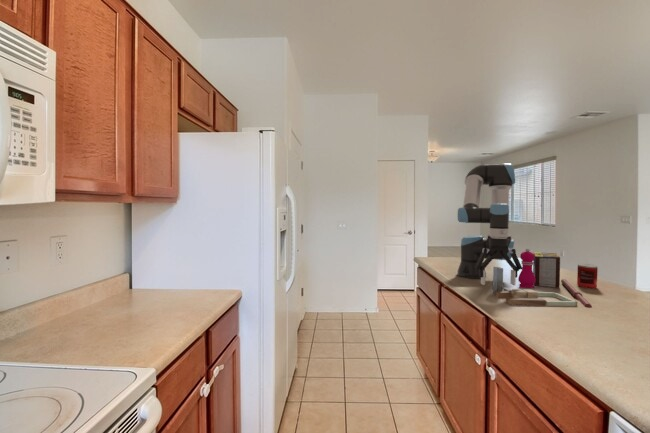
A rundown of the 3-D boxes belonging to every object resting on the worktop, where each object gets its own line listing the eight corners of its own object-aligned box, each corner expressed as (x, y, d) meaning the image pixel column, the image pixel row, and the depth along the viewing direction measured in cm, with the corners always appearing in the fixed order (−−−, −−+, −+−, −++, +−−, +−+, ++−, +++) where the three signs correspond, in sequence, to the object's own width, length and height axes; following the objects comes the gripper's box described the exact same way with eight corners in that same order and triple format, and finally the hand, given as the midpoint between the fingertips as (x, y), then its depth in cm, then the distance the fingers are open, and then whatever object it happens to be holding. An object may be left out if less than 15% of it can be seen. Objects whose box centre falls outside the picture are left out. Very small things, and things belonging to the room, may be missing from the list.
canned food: (589, 284, 162) (589, 263, 162) (601, 289, 154) (601, 266, 154) (573, 284, 163) (573, 263, 163) (584, 288, 155) (585, 266, 155)
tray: (527, 298, 140) (527, 292, 140) (554, 298, 139) (554, 292, 139) (546, 308, 126) (547, 301, 126) (577, 308, 126) (577, 302, 126)
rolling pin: (593, 311, 124) (593, 303, 124) (583, 309, 125) (583, 302, 125) (567, 284, 164) (567, 278, 164) (559, 283, 165) (560, 277, 165)
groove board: (494, 297, 141) (494, 290, 141) (526, 298, 140) (526, 290, 140) (510, 308, 127) (510, 300, 127) (546, 308, 126) (546, 300, 126)
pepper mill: (538, 290, 152) (539, 249, 151) (523, 290, 152) (524, 249, 151) (529, 286, 159) (530, 247, 158) (515, 286, 159) (515, 247, 158)
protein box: (555, 281, 169) (556, 253, 168) (559, 288, 155) (560, 257, 155) (532, 279, 174) (533, 251, 173) (534, 285, 161) (535, 255, 160)
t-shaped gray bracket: (491, 293, 147) (492, 266, 146) (506, 294, 146) (507, 266, 146) (497, 297, 141) (498, 268, 141) (513, 297, 141) (513, 268, 140)
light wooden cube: (522, 298, 136) (522, 289, 135) (531, 298, 135) (532, 289, 135) (527, 301, 132) (527, 292, 131) (537, 301, 131) (537, 292, 131)
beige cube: (511, 298, 136) (511, 289, 136) (521, 298, 136) (521, 289, 135) (516, 301, 132) (516, 291, 132) (526, 301, 132) (526, 292, 131)
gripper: (474, 238, 140) (473, 286, 141) (531, 238, 138) (530, 286, 139) (467, 236, 147) (467, 281, 148) (522, 236, 146) (521, 282, 147)
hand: (497, 284), depth 144 cm, fingers open, 12 cm apart
